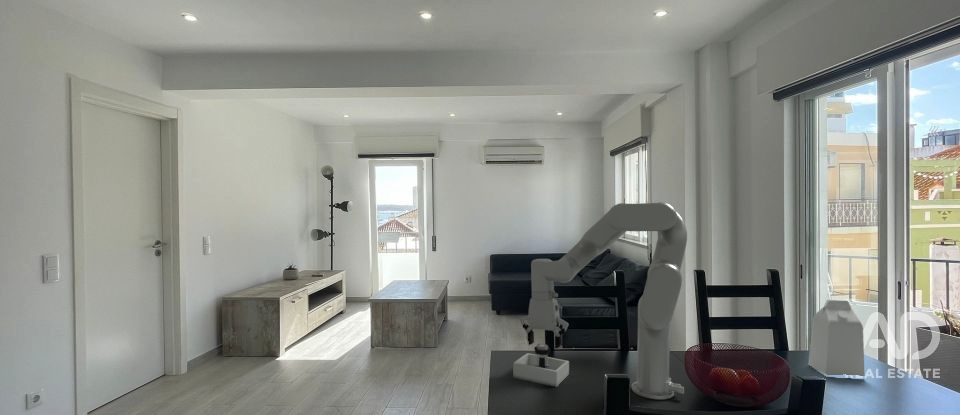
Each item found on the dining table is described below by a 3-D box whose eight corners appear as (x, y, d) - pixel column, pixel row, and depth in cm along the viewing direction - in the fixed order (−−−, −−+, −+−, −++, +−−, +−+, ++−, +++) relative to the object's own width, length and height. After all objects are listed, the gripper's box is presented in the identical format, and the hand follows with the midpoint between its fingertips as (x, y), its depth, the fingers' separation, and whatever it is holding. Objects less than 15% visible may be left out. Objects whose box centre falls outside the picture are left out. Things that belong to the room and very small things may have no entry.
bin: (568, 375, 160) (569, 361, 160) (556, 387, 150) (556, 371, 150) (527, 366, 168) (527, 353, 168) (513, 377, 158) (513, 362, 158)
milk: (844, 368, 170) (846, 297, 170) (864, 380, 159) (867, 304, 158) (808, 365, 172) (810, 295, 172) (825, 377, 161) (827, 302, 161)
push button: (553, 372, 161) (553, 343, 161) (554, 378, 156) (554, 348, 155) (533, 371, 162) (534, 342, 161) (534, 377, 156) (534, 347, 156)
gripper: (571, 295, 157) (572, 345, 157) (524, 291, 166) (525, 339, 166) (563, 299, 151) (564, 352, 151) (515, 295, 159) (516, 345, 160)
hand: (544, 345), depth 159 cm, fingers open, 9 cm apart
